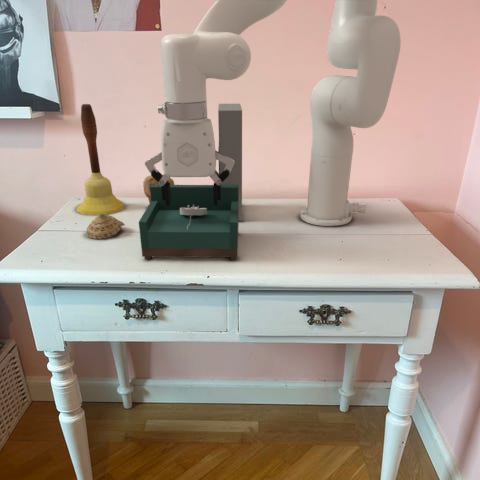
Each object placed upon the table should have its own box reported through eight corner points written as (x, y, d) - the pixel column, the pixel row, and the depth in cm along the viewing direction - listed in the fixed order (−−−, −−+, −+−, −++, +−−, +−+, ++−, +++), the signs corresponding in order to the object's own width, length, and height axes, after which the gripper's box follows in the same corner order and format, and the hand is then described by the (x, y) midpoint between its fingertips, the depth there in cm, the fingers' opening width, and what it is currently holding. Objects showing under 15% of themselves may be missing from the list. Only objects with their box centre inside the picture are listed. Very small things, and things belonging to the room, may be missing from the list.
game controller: (204, 211, 104) (204, 199, 103) (215, 229, 94) (215, 216, 93) (178, 213, 103) (177, 201, 101) (187, 231, 93) (186, 218, 92)
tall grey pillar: (217, 205, 128) (215, 103, 116) (240, 205, 129) (240, 103, 116) (217, 221, 116) (214, 110, 104) (242, 221, 117) (242, 110, 104)
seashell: (132, 219, 111) (110, 215, 104) (129, 243, 112) (107, 241, 105) (103, 214, 114) (80, 210, 107) (100, 238, 115) (77, 235, 107)
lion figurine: (159, 214, 122) (156, 178, 117) (140, 212, 123) (137, 176, 118) (182, 198, 134) (180, 165, 129) (165, 196, 135) (162, 164, 130)
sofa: (238, 233, 109) (238, 185, 104) (237, 260, 96) (237, 206, 90) (155, 232, 110) (151, 184, 104) (142, 260, 96) (136, 206, 90)
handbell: (79, 202, 131) (62, 102, 118) (126, 200, 132) (114, 101, 120) (74, 216, 120) (54, 108, 107) (124, 213, 122) (110, 106, 109)
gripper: (135, 115, 85) (146, 209, 94) (233, 114, 85) (234, 209, 93) (143, 109, 91) (152, 198, 100) (234, 109, 91) (235, 197, 100)
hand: (192, 203), depth 97 cm, fingers open, 9 cm apart
